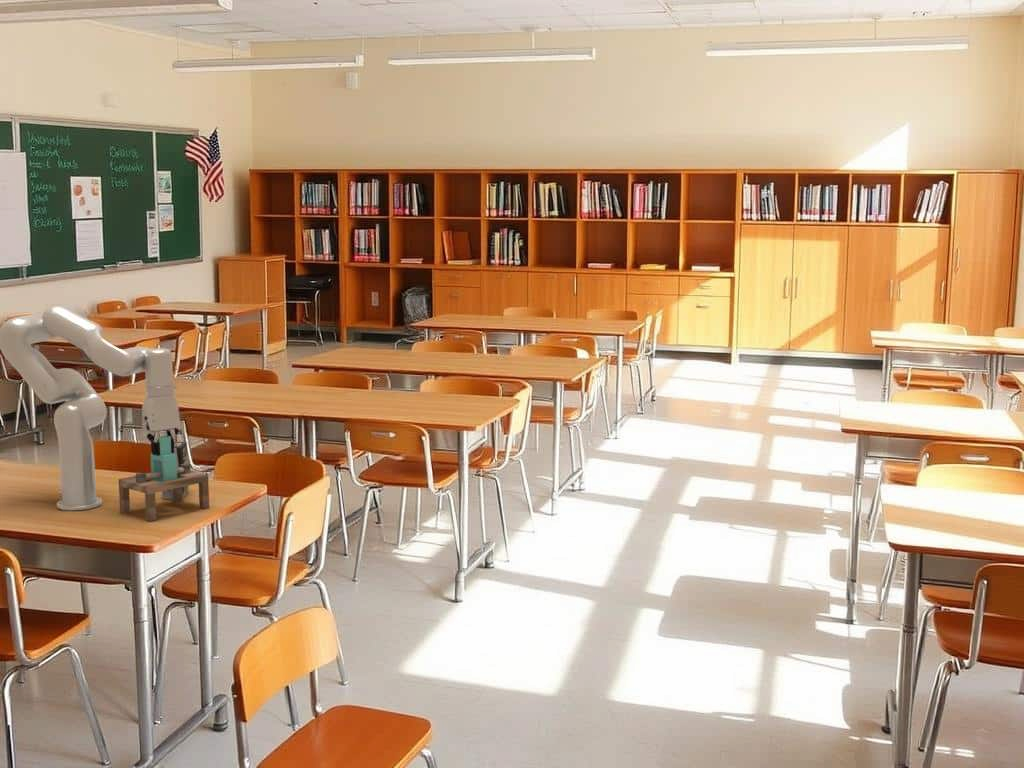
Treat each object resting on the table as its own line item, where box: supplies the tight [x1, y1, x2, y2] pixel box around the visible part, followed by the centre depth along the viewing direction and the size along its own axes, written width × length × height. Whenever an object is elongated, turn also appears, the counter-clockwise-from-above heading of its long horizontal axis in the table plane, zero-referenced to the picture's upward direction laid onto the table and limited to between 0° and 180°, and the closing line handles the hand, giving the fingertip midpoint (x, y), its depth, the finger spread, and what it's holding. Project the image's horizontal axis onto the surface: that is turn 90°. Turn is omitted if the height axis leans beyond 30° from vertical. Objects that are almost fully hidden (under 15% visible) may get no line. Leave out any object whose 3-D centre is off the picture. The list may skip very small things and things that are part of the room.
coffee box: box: [161, 441, 190, 500], centre depth 348 cm, size 9×6×16 cm
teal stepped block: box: [150, 434, 177, 482], centre depth 330 cm, size 7×4×15 cm, turn 51°
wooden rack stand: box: [118, 463, 210, 523], centre depth 331 cm, size 15×20×12 cm
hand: (163, 453), depth 330 cm, fingers closed on teal stepped block, 4 cm apart
